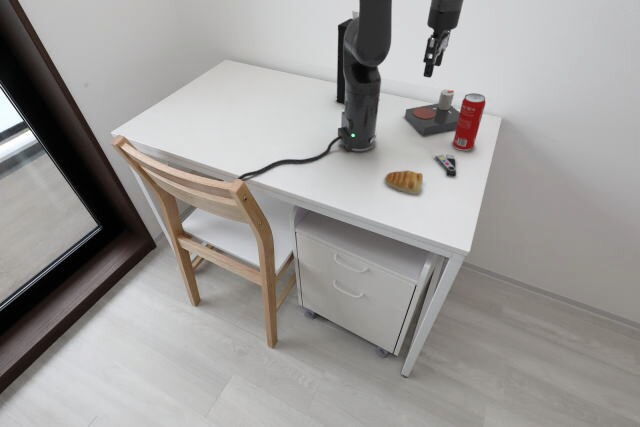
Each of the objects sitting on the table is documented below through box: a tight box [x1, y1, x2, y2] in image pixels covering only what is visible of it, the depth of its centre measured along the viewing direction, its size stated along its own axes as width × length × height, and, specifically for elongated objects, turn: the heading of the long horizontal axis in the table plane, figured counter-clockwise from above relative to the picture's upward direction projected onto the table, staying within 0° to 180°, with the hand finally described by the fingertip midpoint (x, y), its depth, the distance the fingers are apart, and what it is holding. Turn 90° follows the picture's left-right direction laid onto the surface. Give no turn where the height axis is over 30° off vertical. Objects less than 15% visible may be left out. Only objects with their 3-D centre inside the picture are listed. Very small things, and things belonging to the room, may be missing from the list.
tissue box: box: [336, 10, 359, 105], centre depth 110 cm, size 8×8×28 cm
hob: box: [404, 100, 460, 137], centre depth 108 cm, size 16×13×3 cm
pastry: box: [384, 169, 424, 195], centre depth 86 cm, size 9×7×4 cm
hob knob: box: [437, 89, 455, 110], centre depth 107 cm, size 4×4×5 cm
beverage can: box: [452, 93, 486, 151], centre depth 94 cm, size 6×6×15 cm
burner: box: [413, 108, 435, 119], centre depth 107 cm, size 7×7×1 cm
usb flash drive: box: [434, 154, 457, 177], centre depth 92 cm, size 9×5×1 cm, turn 166°
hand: (432, 70), depth 95 cm, fingers open, 8 cm apart
